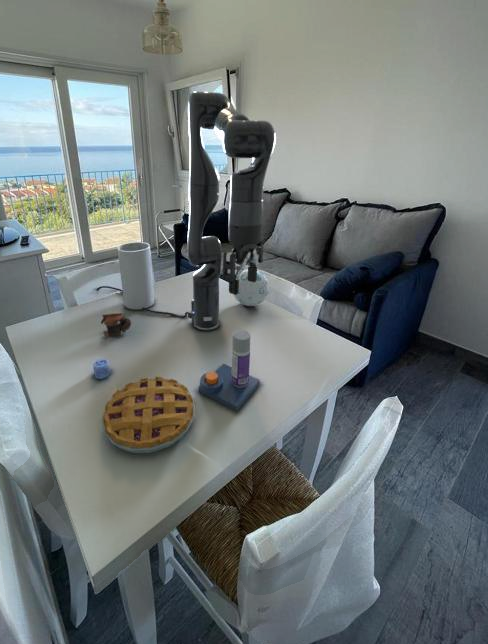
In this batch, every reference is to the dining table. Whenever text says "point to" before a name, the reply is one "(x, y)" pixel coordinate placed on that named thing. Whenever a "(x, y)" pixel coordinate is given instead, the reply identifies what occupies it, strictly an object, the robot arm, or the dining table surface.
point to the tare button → (211, 378)
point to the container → (240, 358)
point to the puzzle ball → (252, 289)
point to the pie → (148, 415)
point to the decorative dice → (101, 368)
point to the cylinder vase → (136, 275)
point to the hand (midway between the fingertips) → (243, 287)
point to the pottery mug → (115, 324)
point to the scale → (228, 388)
